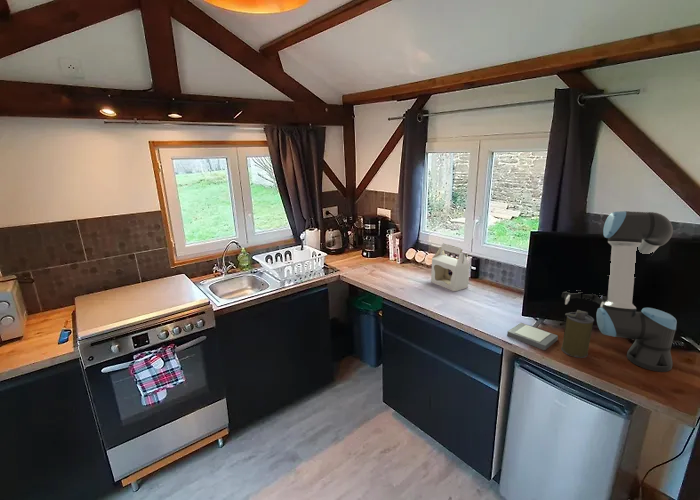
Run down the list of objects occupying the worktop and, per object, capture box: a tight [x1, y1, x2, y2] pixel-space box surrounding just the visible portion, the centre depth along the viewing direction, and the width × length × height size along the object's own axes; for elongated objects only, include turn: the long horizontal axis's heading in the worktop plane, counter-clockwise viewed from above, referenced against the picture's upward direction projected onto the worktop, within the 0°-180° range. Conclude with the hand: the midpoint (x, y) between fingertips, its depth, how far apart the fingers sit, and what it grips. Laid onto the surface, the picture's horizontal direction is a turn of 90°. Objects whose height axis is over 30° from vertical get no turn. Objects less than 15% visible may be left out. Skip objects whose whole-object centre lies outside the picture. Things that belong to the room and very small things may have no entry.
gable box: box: [430, 242, 471, 292], centre depth 242 cm, size 22×13×28 cm, turn 32°
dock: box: [506, 322, 559, 351], centre depth 175 cm, size 18×14×3 cm
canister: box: [561, 309, 595, 359], centre depth 161 cm, size 11×10×20 cm
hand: (582, 305), depth 167 cm, fingers open, 13 cm apart
